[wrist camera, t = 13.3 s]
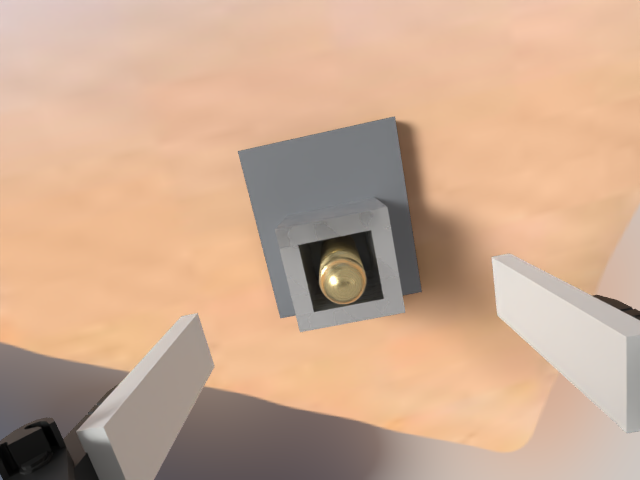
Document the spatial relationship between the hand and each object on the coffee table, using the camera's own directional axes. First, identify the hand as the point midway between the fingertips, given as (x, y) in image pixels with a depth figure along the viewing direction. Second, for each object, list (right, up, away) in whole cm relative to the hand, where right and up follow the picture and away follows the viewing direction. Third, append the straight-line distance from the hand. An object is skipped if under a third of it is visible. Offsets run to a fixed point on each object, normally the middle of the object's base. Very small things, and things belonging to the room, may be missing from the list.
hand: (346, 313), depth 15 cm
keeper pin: (0, +3, +12) cm, 13 cm away
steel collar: (0, +3, +12) cm, 13 cm away
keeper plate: (0, +5, +13) cm, 14 cm away
